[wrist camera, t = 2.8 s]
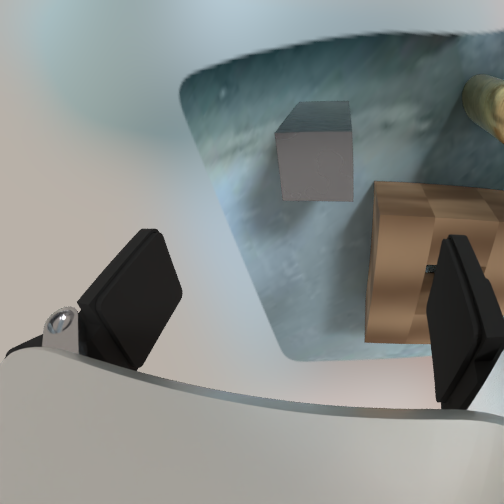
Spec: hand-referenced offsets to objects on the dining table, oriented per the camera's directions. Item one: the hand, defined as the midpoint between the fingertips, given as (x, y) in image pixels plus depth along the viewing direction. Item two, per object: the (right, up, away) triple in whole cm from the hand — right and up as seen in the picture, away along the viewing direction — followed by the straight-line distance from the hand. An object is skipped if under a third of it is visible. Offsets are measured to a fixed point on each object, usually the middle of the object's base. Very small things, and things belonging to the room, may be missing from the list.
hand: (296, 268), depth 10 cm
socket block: (+17, +1, +17) cm, 24 cm away
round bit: (+17, +13, +8) cm, 23 cm away
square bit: (+5, +11, +14) cm, 18 cm away
